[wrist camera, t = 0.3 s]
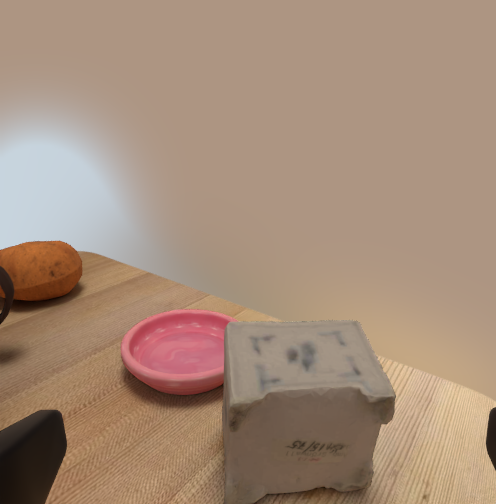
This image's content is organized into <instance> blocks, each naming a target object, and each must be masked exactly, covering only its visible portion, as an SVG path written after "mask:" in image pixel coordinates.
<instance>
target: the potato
mask: <svg viewBox="0 0 496 504" xmlns="http://www.w3.org/2000/svg"><path fill="white" fill-rule="evenodd" d="M0 266H1V267H3V268H4V269H5V270H6V272H7V273H8V274H9V276H10V278H11V280H12V282H13V285H14V298H13V299H18V300H27V301H40V300H46V299H51V298H55V297H59V296H63V295H65V294H67V293H68V292H70V291H71V290H72V289H73V287H74V286H75V285H76V284H77V283H78V281H79V280H80V278H81V276H82V260H81V258H80V256H79V254H78V252H77V251H76V250H75V249H74V248H73V247H71V245H69V244H67V243H65V242H62V241H35V242H26V243H22V244H19V245H16V246H12V247H8V248H5V249H3V250H0ZM0 297H3V298H5V294H4V292H3V290H2V288H1V286H0Z"/></svg>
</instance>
